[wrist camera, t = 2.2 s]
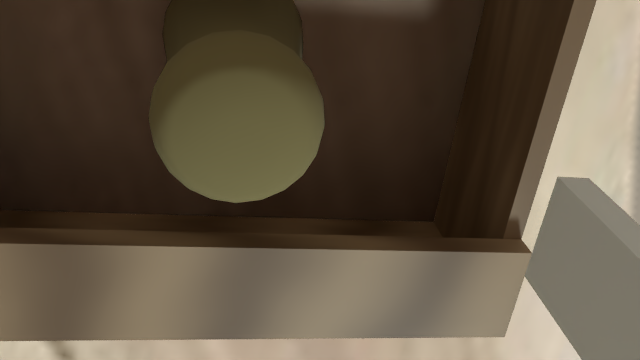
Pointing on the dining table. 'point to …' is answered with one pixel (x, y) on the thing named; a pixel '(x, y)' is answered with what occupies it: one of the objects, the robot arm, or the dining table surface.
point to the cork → (235, 98)
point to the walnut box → (321, 232)
